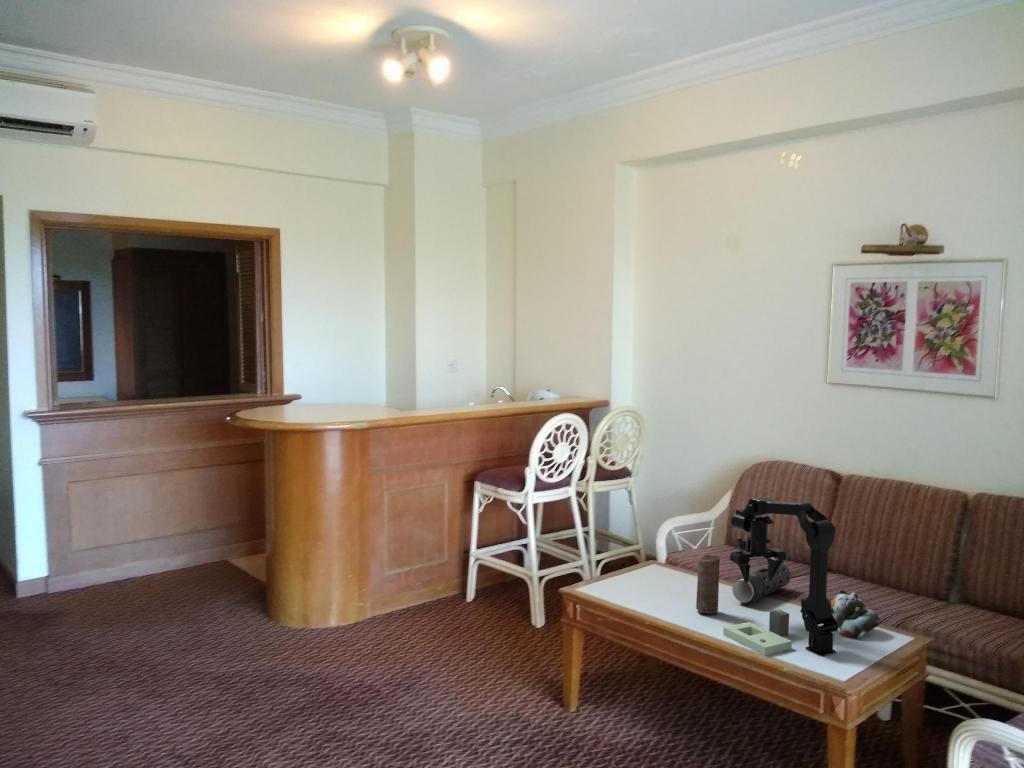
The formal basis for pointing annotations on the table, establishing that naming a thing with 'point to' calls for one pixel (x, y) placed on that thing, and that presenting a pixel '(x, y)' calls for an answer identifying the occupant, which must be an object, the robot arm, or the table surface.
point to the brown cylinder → (708, 583)
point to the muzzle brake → (760, 584)
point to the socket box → (757, 638)
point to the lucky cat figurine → (852, 615)
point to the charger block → (779, 622)
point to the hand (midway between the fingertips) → (758, 581)
